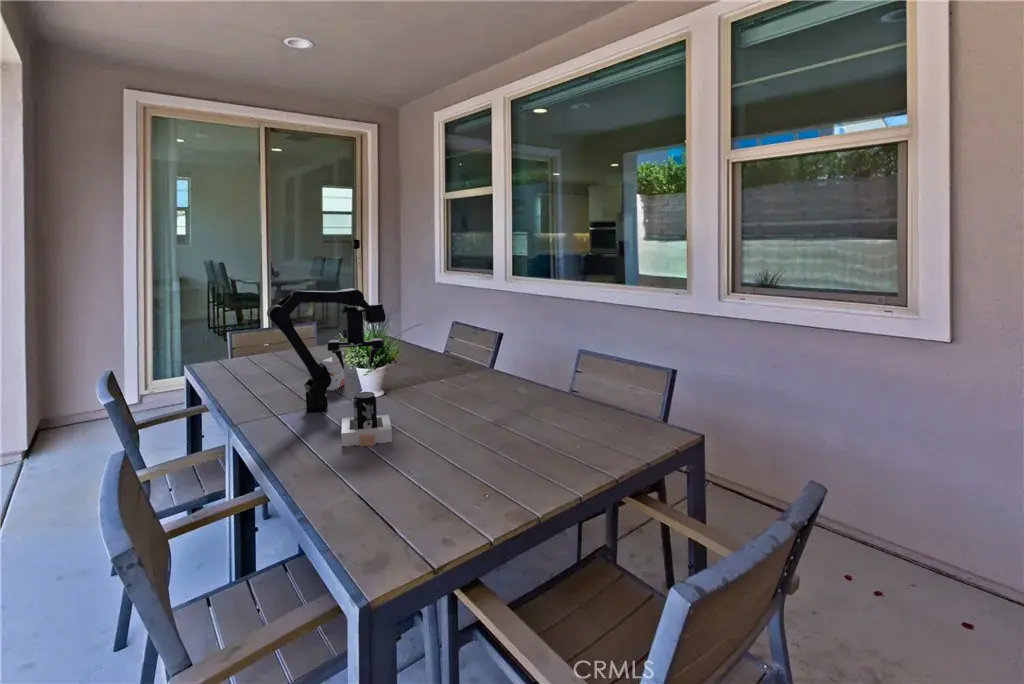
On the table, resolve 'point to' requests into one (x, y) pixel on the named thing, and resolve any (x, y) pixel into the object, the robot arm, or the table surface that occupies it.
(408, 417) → the table surface
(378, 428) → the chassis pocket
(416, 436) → the table surface
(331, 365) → the ink cartridge box
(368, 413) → the beverage can
